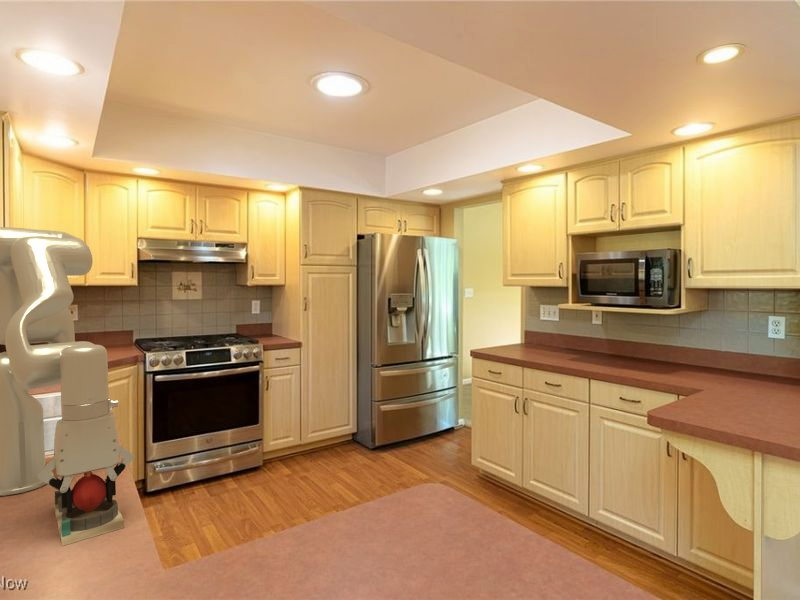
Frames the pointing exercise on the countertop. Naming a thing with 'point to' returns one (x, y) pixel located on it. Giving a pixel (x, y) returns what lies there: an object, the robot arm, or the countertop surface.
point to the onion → (89, 492)
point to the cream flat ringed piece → (86, 520)
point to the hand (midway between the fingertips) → (89, 504)
